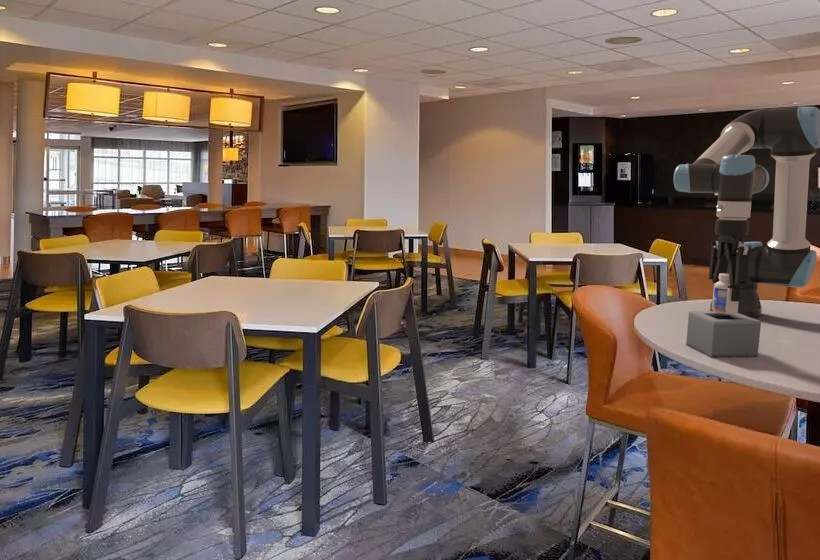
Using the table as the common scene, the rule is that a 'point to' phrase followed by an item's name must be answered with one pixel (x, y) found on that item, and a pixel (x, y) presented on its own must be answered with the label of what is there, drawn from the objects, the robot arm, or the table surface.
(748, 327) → the drop box
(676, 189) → the robot arm
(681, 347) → the table surface
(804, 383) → the table surface
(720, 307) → the pill bottle
